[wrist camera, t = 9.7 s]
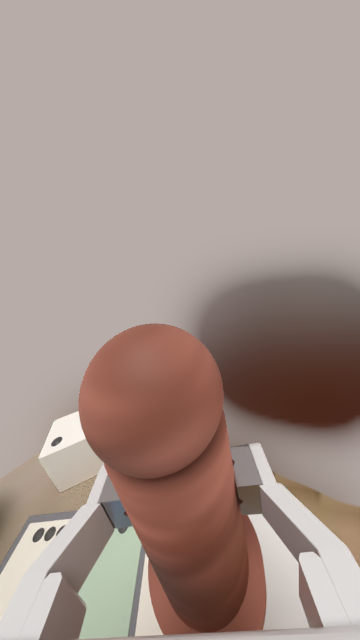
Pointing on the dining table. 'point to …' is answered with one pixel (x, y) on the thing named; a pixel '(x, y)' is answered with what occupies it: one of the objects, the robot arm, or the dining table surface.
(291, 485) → the dining table surface
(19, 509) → the dining table surface
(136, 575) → the game board
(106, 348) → the pawn
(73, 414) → the die
